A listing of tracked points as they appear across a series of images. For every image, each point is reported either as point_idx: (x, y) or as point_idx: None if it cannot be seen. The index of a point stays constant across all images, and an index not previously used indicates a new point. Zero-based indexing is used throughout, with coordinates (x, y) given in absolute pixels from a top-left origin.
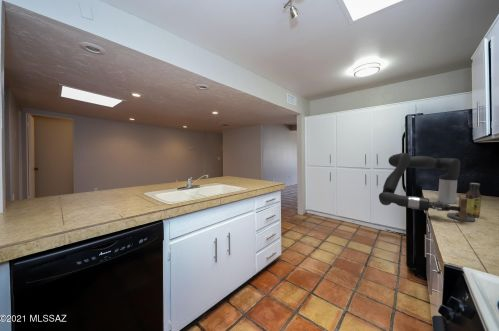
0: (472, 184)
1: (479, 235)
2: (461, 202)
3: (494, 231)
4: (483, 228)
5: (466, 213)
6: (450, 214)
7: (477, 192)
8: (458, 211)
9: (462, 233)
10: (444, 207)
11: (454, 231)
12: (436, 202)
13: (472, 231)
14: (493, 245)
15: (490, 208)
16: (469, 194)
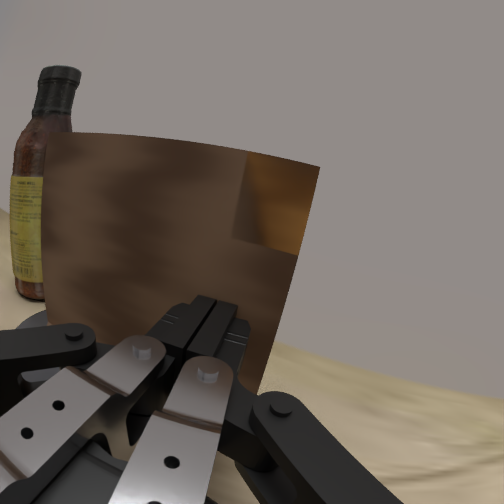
0: (63, 70)
1: (435, 416)
2: (303, 226)
3: (306, 351)
4: (282, 368)
5: (36, 287)
6: (33, 375)
7: (70, 124)
8: (62, 317)
9: (472, 465)
10: (358, 481)
11: (475, 492)
12: (7, 489)
13: (395, 429)
14: (497, 399)
15: (4, 216)
16: (43, 142)
